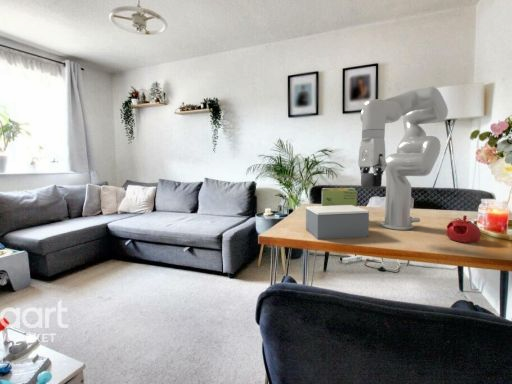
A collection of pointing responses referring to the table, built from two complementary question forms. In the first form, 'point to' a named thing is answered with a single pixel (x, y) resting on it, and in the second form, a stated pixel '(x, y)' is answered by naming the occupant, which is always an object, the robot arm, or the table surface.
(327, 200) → the protein box
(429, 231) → the table surface
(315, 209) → the box lid
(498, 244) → the table surface
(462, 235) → the pomegranate
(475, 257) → the table surface
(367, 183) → the tape roll
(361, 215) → the storage box
